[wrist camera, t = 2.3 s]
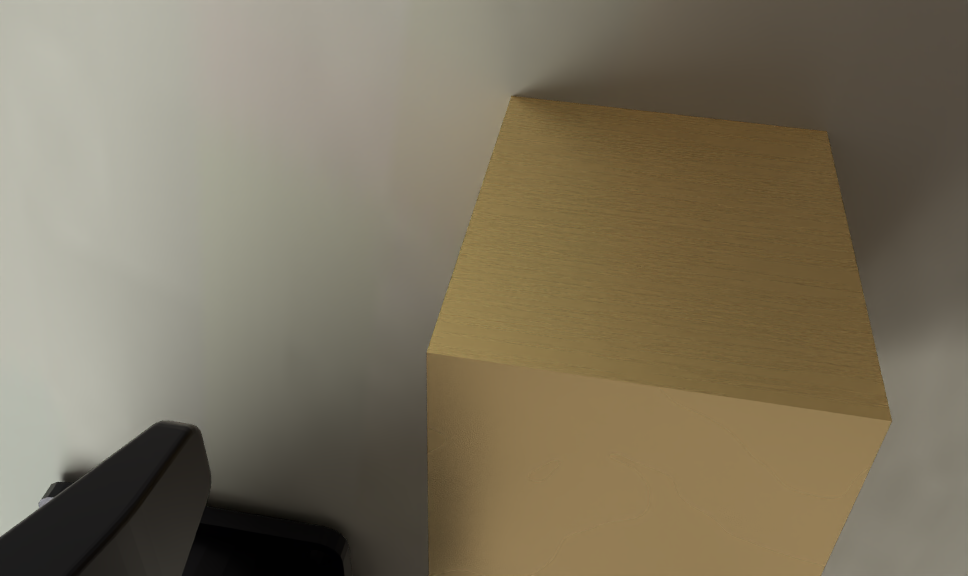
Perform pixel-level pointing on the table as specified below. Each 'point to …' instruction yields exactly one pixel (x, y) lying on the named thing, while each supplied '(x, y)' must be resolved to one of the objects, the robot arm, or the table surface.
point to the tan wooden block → (650, 354)
